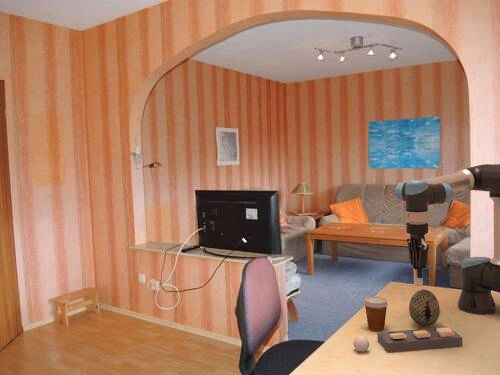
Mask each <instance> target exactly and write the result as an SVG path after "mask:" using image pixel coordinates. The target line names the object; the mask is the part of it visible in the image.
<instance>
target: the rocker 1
mask: <svg viewBox="0 0 500 375" xmlns="http://www.w3.org/2000/svg"><path fill="white" fill-rule="evenodd" d="M389 337H391V338H393V339H399V338H407V335H406V334H403V333H395V334H389Z"/></svg>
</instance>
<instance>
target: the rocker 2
mask: <svg viewBox="0 0 500 375" xmlns="http://www.w3.org/2000/svg"><path fill="white" fill-rule="evenodd" d="M446 327H447V328H440V327H435V328H436V332H437V333H438V334H439V335H440V336H441V337H449V336H454V335H455V334H454V332H455V331H454V330H453V329H452V330H453V331H454V332H453V331H452V330H451V328H450V327H449V326H446Z"/></svg>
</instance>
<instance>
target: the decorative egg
mask: <svg viewBox="0 0 500 375" xmlns="http://www.w3.org/2000/svg"><path fill="white" fill-rule="evenodd" d="M440 310H441V308H440V304H439V301H438V298H437V296H435V294H434V293H433V292H431V291H430V290H428V289H419V290H417V291H415V293H413V295H412V296H411V298H410V300H409V307H408V311H409V316H410V318H411V320H412V321H413V322H414V323H415V324H416V325H418V326H420V327H427V328H428V327H431V326H434V325H435V324H436V323H437V321H438V320H439V317H440V314H441V311H440Z"/></svg>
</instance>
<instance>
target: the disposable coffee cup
mask: <svg viewBox="0 0 500 375" xmlns="http://www.w3.org/2000/svg"><path fill="white" fill-rule="evenodd" d="M388 304H389V302H388V301H387V299H386V298H384V297H383V296H368V297H365V299H364V301H363V305H364V307H365V308H364V309H365V314H366V321H367V326H368V330H370V331H373V332H384V330H385V327H386V326H385V325H386V316H387V308H388Z"/></svg>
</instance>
